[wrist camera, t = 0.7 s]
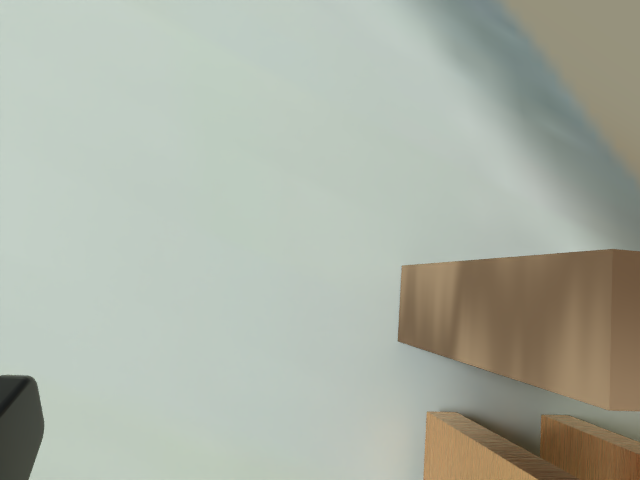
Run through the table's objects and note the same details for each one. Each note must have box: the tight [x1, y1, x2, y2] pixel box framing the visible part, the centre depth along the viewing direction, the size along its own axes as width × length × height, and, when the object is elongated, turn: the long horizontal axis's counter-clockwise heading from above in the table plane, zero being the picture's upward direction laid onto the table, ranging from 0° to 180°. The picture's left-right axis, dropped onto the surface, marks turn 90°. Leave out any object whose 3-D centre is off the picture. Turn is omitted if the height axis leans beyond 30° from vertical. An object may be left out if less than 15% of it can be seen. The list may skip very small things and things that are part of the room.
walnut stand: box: [398, 249, 640, 411], centre depth 17 cm, size 9×8×12 cm
